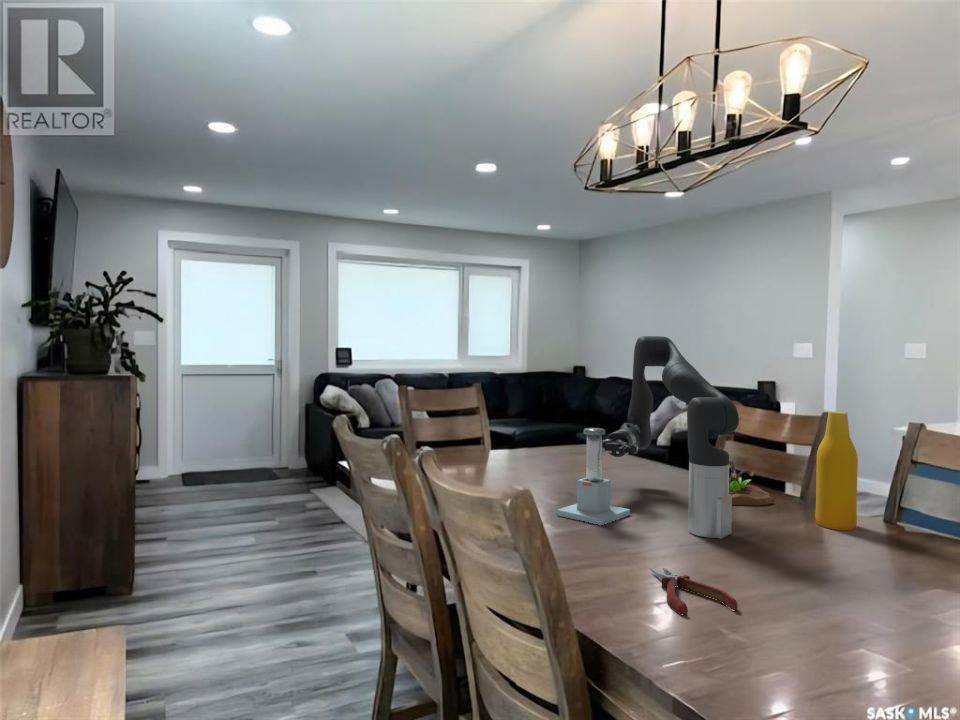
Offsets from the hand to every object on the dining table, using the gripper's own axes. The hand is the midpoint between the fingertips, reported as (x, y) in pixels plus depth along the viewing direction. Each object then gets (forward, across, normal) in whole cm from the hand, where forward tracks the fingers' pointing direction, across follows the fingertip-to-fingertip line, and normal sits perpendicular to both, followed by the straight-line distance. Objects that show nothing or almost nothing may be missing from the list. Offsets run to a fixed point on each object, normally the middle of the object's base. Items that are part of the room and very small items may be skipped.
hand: (605, 450), depth 178 cm
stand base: (+10, 0, +16) cm, 19 cm away
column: (+10, 0, +14) cm, 17 cm away
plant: (-30, +31, +17) cm, 46 cm away
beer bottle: (-11, +57, +16) cm, 61 cm away
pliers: (+53, +33, +17) cm, 64 cm away
